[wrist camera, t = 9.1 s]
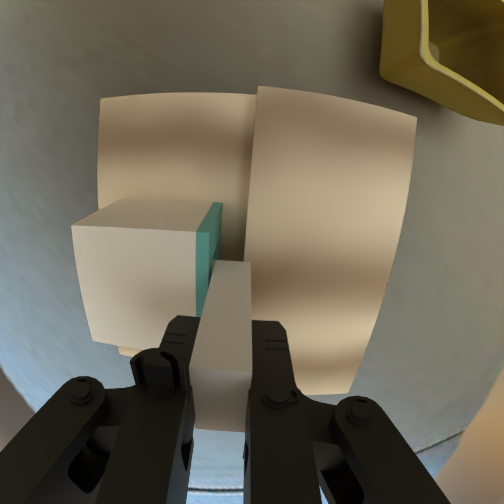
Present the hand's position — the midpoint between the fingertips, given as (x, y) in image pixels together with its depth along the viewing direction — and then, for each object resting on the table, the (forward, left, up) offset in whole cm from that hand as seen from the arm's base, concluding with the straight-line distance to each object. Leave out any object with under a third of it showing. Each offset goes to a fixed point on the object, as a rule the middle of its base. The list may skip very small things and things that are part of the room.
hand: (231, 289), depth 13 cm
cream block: (0, -1, -1) cm, 2 cm away
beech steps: (0, 0, -8) cm, 8 cm away
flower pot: (-15, +11, -8) cm, 20 cm away
